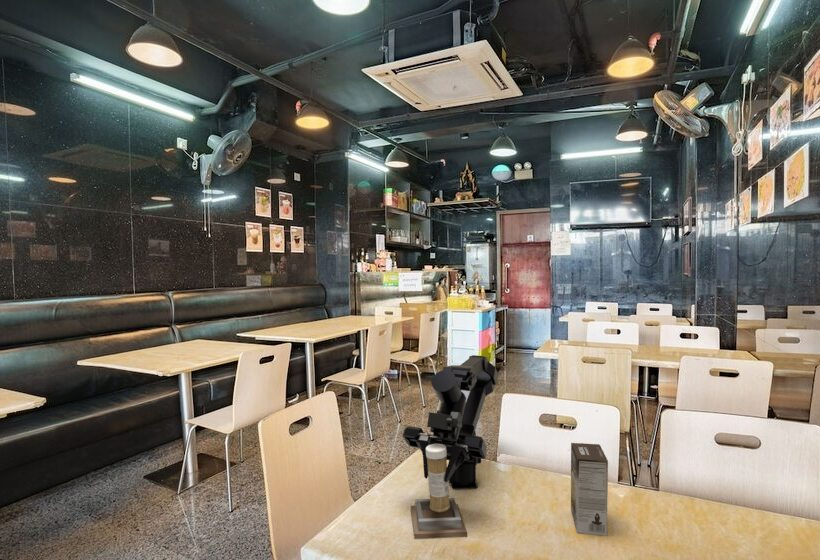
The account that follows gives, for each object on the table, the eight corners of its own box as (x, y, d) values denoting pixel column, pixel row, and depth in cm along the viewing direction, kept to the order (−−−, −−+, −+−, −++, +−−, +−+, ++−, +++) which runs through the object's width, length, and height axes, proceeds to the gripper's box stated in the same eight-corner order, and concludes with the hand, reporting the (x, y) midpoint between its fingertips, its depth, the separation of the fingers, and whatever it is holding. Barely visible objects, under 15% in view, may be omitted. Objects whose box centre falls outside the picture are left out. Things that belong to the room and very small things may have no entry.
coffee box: (569, 510, 102) (570, 441, 102) (599, 513, 101) (599, 443, 100) (576, 533, 93) (576, 458, 93) (608, 537, 92) (609, 460, 91)
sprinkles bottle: (437, 500, 100) (433, 441, 100) (454, 506, 97) (450, 445, 97) (425, 509, 97) (421, 448, 97) (442, 515, 94) (438, 452, 94)
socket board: (457, 508, 103) (457, 495, 103) (467, 536, 92) (467, 522, 92) (410, 510, 102) (410, 497, 102) (414, 538, 91) (414, 524, 91)
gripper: (405, 392, 104) (384, 457, 94) (483, 401, 96) (470, 472, 87) (418, 414, 111) (400, 477, 101) (491, 424, 104) (480, 493, 94)
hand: (435, 479), depth 96 cm, fingers closed on sprinkles bottle, 4 cm apart
